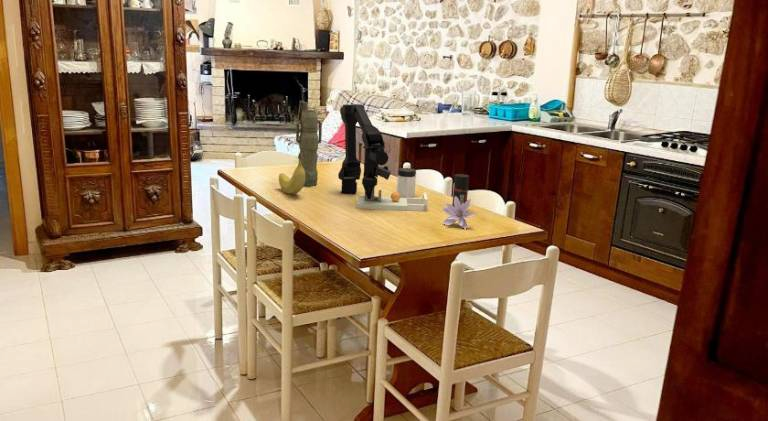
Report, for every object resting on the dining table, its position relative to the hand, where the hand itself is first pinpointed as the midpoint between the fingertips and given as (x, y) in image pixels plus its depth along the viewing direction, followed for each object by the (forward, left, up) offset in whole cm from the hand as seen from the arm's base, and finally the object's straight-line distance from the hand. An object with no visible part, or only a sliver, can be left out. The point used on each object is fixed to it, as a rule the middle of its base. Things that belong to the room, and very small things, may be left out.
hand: (369, 197), depth 260 cm
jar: (+16, +20, -4) cm, 26 cm away
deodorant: (+38, -2, -3) cm, 38 cm away
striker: (+1, 0, -1) cm, 2 cm away
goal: (+20, 0, -3) cm, 20 cm away
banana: (-35, +12, -4) cm, 37 cm away
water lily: (+34, -25, -4) cm, 43 cm away
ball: (+11, 0, +1) cm, 11 cm away
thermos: (-30, +31, -3) cm, 43 cm away
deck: (+6, 0, -3) cm, 6 cm away
